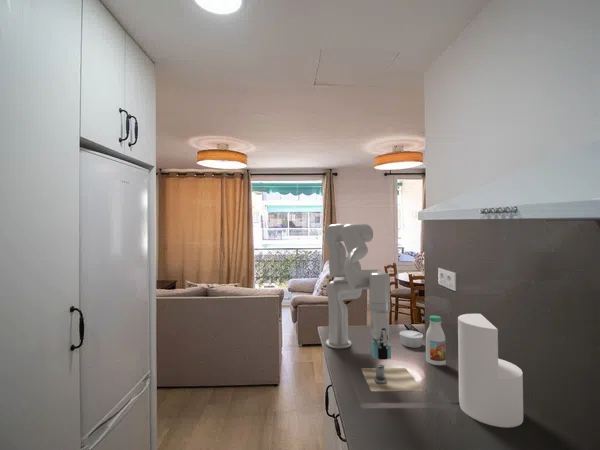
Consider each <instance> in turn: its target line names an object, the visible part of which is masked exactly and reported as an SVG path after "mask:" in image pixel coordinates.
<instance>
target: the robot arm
mask: <svg viewBox="0 0 600 450" xmlns="http://www.w3.org/2000/svg"><path fill="white" fill-rule="evenodd" d="M373 231H374V230H373V228H372V226H371V225H369V224H368V223H335V224H330V225H328V226H327V227H326V229H325V233H324V234H325V240H326V244H327V248H328V268H329V269H328V270H329V274H330V276H331V277H332V278H335V280H331V281H329V282H328V283H327V284H326V295H327V301H328V302H327V303H328V338H327V339H326V340H325V345H326V346H327V347H329V348H333V349H338V350H339V349H341V350H343V349H347V348H349V347H351V346H352V341H351V340H350V339H349V312H348V311H349V310H348V309H349V308H348V306H347V305H346V304H345V302H344V300H354V299H355V300H356V299H359V298H360V297H361V295H362V291H363V290H368V299H369V300H368V302H369V303H368V306H369V308H368V310H369V311H370V313H369V314H370V316H369V317H370V318H369V319H370V320H369V332H370V335H371V336H372V337H373V340H378V342H379V348H378V359H377V360H381V361H382V360H385V361H386V360H388V356H387V343H389V341H388V340H389V339H390V321H389V320H390V319H389V312H391V277H390V275H389V274H388V273H387V272H384V271H381V269H380V270H379V269H362V266H361V262H360V260H362V259H363V258H365V257H366V256H367V254H368V253H369V248H368V246H367V244H366V243H369V242H371V241H372V240H373V238H374V232H373ZM347 254H348V255H347ZM337 278H338V279H337ZM339 278H340V279H339ZM341 278H345V279H341ZM381 341H383V342H382V343H381Z"/></svg>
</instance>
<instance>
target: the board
mask: <svg viewBox="0 0 600 450" xmlns="http://www.w3.org/2000/svg"><path fill="white" fill-rule="evenodd" d="M360 370H361V372H362V374H363V376H364V379H365V380H366V383H367V385H368V388H369V389H370V391H371V392H421V391H422V392H423V391H424V389H422V387H421V386H420V385H419V384H418V382H417V381H416V379H415V378H414V377H413V376H412V374H411V373H410V372H409V371H408V369H407V368H406V367H384V372H385V378H386V379H387V382H386V384H377V383H375V382H374V377H375V376H376V367H371V368H370V367H369V368H368V367H365V368H364V367H362V368H360Z"/></svg>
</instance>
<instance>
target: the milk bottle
mask: <svg viewBox="0 0 600 450" xmlns="http://www.w3.org/2000/svg"><path fill="white" fill-rule="evenodd" d="M428 319H429V326H428V328H427V330H426V332H425V333H426V335H425V361H426V362H427V363H428V364H431V365H433V366H447V365H446V364H447V363H446V362H447V359H446V358H447V355H446V354H447V353H446V350H447V349H446V348H447V347H446V345H447V344H446V334H445V333H444V329H443V327H442V325H441V324H442V317H441V316H440V315H430V316H429V318H428Z"/></svg>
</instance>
